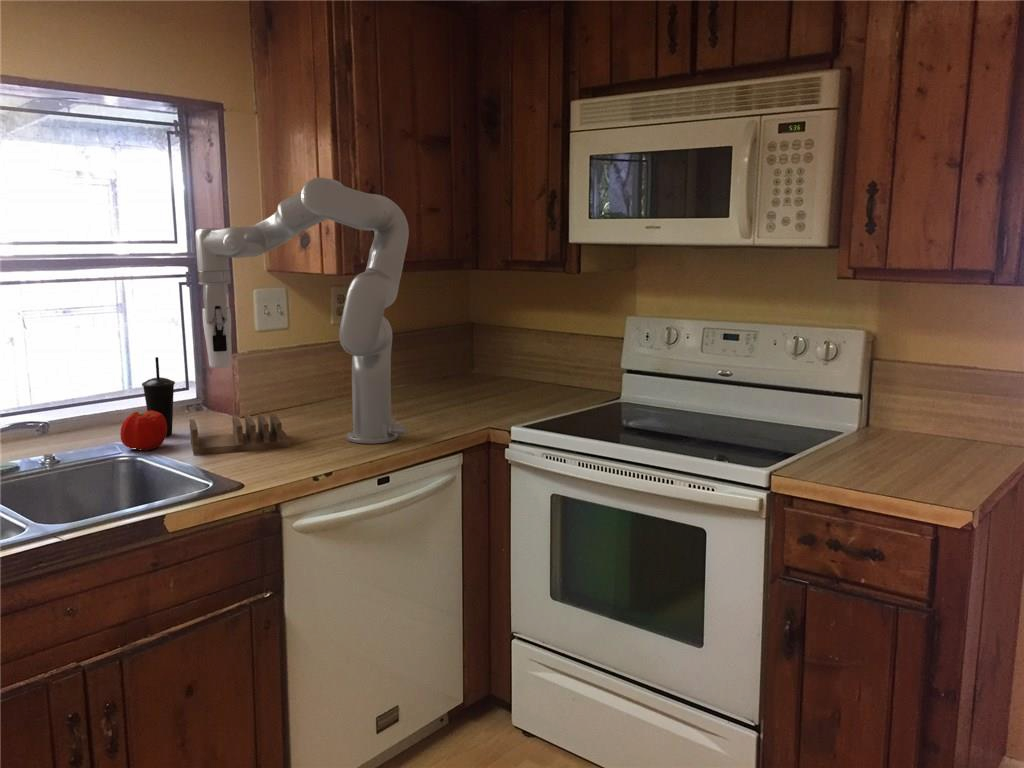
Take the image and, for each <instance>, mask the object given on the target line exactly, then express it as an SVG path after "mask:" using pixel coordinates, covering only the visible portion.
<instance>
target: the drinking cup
mask: <svg viewBox="0 0 1024 768" xmlns="http://www.w3.org/2000/svg"><path fill="white" fill-rule="evenodd" d="M155 369H156V370H155V371H156V377H153V378H149V379H148V380H146V381H143V382H142V383H141V386H142V387H143V393H144V400H145V404H146V405H145V406H146V410H147V411H151V410H153V411H156V412H159V413H161V414H163V416H164V417H165V419H166V422H167V435H166V438H169V437H171V436H172V435H173V418H174V416H173V415H174V414H173V413H174V393H175V391H174V387H175V384H176V382H175V380H171V379H169V378H166V377H160V365H159V357H158V356H157V357H155ZM147 411H146V412H147Z"/></svg>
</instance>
